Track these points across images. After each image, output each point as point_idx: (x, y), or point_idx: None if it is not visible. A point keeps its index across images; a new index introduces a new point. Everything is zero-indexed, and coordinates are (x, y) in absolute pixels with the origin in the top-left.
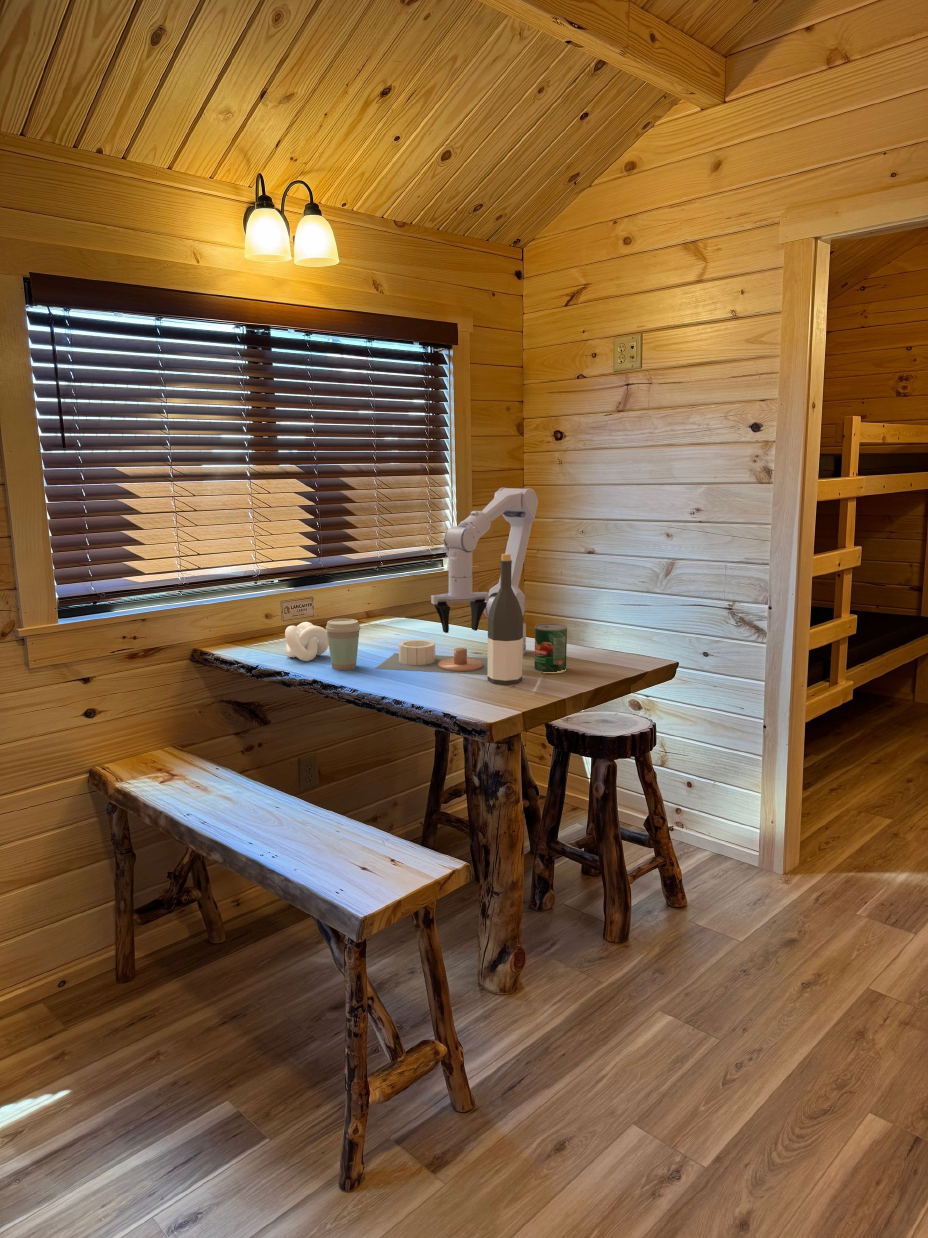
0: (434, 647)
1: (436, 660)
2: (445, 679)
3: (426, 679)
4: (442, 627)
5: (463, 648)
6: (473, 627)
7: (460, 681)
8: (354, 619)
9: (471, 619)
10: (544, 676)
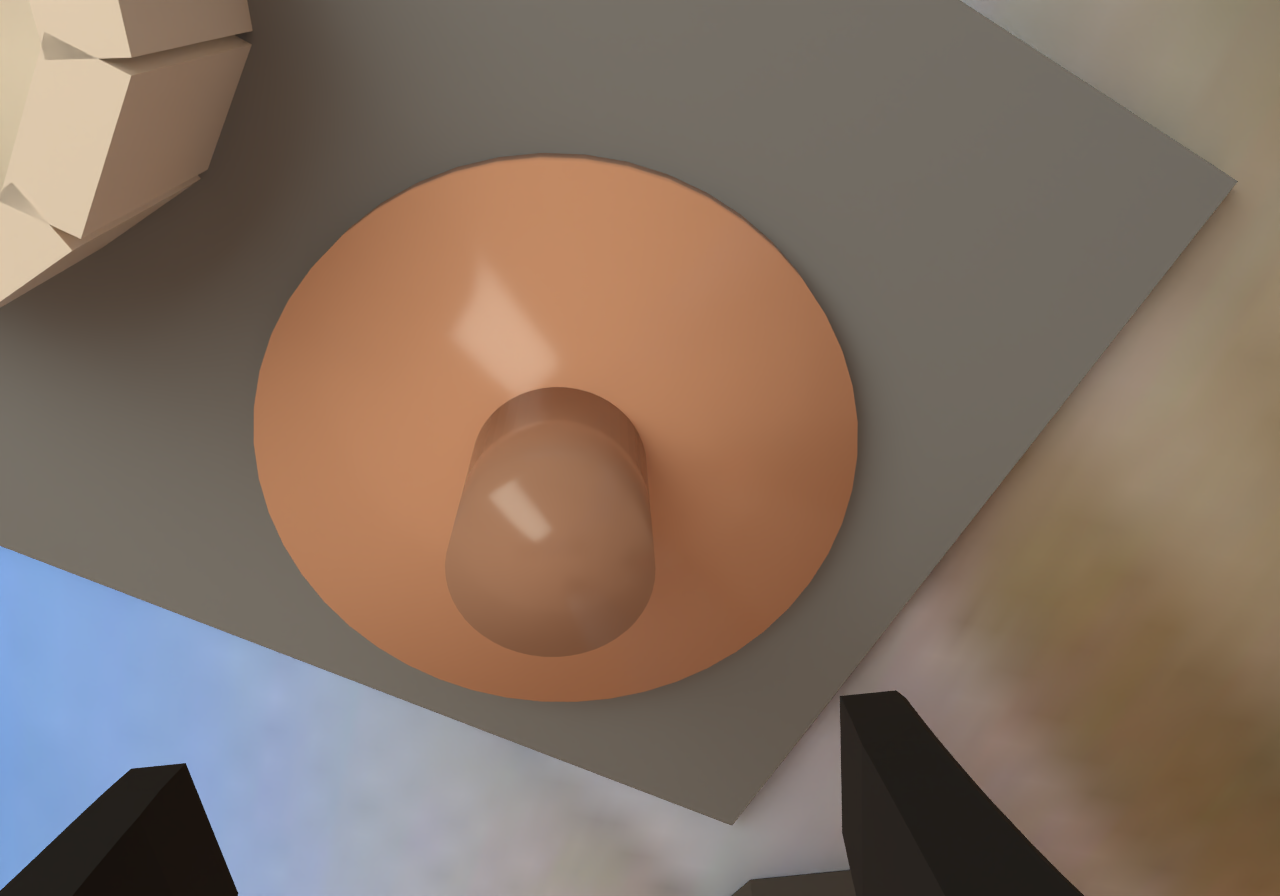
0: (142, 120)
1: (273, 27)
2: (303, 797)
3: (105, 761)
4: (68, 836)
5: (615, 526)
6: (852, 823)
7: (438, 875)
8: None
9: (913, 841)
10: (1243, 885)
